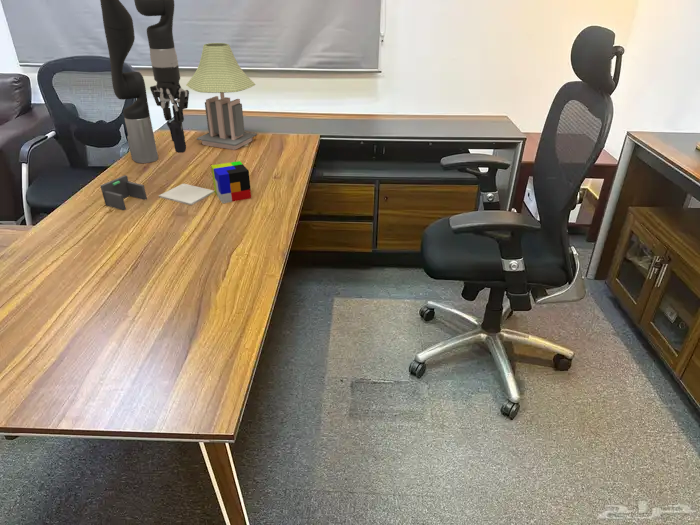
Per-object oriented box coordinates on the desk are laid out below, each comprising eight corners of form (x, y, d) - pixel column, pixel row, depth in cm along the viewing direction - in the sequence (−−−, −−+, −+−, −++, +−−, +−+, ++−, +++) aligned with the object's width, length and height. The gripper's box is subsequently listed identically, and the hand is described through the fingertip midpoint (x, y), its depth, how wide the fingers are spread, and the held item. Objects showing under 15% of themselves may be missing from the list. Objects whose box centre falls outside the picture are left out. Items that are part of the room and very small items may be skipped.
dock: (105, 205, 160) (100, 185, 157) (129, 194, 168) (124, 175, 164) (123, 210, 157) (118, 190, 154) (146, 198, 165) (142, 179, 161)
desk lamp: (183, 147, 210) (166, 46, 189) (221, 130, 232) (210, 38, 211) (234, 156, 202) (222, 52, 181) (269, 137, 224) (262, 42, 203)
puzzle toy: (222, 203, 163) (218, 175, 158) (214, 192, 171) (211, 165, 165) (251, 198, 167) (248, 170, 162) (242, 187, 175) (239, 161, 169)
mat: (159, 197, 166) (158, 195, 166) (183, 184, 176) (183, 183, 175) (191, 205, 161) (190, 203, 161) (214, 192, 171) (214, 190, 170)
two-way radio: (185, 153, 159) (177, 106, 151) (171, 154, 158) (162, 106, 150) (187, 147, 163) (179, 101, 155) (173, 148, 163) (165, 102, 155)
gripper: (137, 63, 146) (148, 121, 155) (174, 68, 141) (183, 127, 150) (156, 59, 152) (166, 115, 161) (192, 64, 147) (200, 121, 156)
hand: (174, 121), depth 155 cm, fingers closed on two-way radio, 4 cm apart
